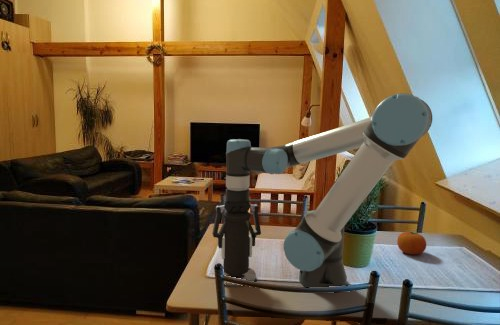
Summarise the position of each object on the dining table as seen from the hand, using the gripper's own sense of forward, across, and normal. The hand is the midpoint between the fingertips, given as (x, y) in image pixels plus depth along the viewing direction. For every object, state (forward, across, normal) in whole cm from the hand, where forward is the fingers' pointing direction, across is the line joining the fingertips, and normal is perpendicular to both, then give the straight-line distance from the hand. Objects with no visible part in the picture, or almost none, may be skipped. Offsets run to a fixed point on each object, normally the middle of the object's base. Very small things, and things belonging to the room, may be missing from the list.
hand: (236, 256), depth 113 cm
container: (+5, 0, 0) cm, 5 cm away
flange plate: (+7, 0, 0) cm, 7 cm away
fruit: (+8, -73, -10) cm, 74 cm away
